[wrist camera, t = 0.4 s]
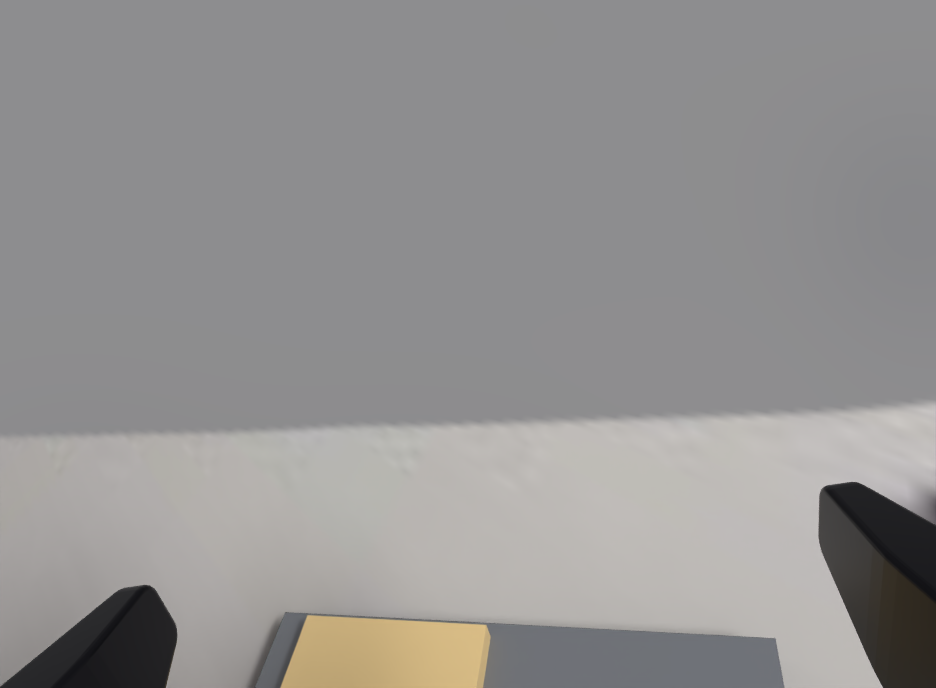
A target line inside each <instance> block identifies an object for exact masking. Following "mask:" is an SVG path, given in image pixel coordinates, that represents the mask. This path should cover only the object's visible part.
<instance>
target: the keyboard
mask: <svg viewBox="0 0 936 688" xmlns="http://www.w3.org/2000/svg"><path fill="white" fill-rule="evenodd" d="M255 688H784V683H783V678H782V672H781V667H780V661H779V656H778V650H777V645H776V639H775V638H759V637H740V636H722V635H703V634H684V633H665V632H646V631H628V630H609V629H590V628H571V627H552V626H534V625H515V624H496V623H477V622H458V621H440V620H421V619H402V618H383V617H364V616H346V615H327V614H308V613H289V612H285V614H284V617H283V619H282V622H281V624H280V627H279V629H278V632H277V634H276V637H275V639H274V642H273V644H272V646H271V649H270V651H269V654H268V656H267V659H266V661H265V664H264V666H263V669H262V671H261V674H260V676H259V679H258V681H257V684H256V686H255Z"/></svg>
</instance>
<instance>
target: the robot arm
mask: <svg viewBox="0 0 936 688" xmlns="http://www.w3.org/2000/svg"><path fill="white" fill-rule="evenodd" d="M819 543H820V547H821V550H822V553H823V556H824V558H825V561H826V563H827V565H828V568H829V570H830V572H831V574H832V577H833V579H834V581H835V584H836V586H837V588H838V590H839V593H840V595H841V597H842V600H843V602H844V604H845V606H846V609H847V611H848V613H849V616H850V618H851V620H852V622H853V625H854V627H855V629H856V632H857V634H858V636H859V638H860V641H861V643H862V645H863V648H864V650H865V652H866V654H867V656H868V659H869V661H870V663H871V665H872V667H873V669H874V672H875V673H876V675H877V677H878V679H879V681H880V683H881V685H882V686H883V688H936V525H935V524H933V523H931V522H929V521H928V520H926V519H924V518H922V517H920V516H919V515H917V514H915V513H913V512H911V511H910V510H908V509H906V508H904V507H902V506H901V505H899V504H897V503H895V502H893V501H892V500H890V499H888V498H886V497H884V496H883V495H881V494H879V493H877V492H875V491H874V490H872V489H870V488H868V487H866V486H865V485H863V484H860V483H857V482H848V483H841V484H834V485H827V486H825V487H823V488H822V489H821V492H820V496H819ZM176 643H177V628H176V624H175V622H174V620H173V618H172V617H171V615H170V613H169V612H168V610H167V608H166V607H165V605H164V603H163V601H162V600H161V598H160V596H159V595H158V593H157V591H156V590H155V589H154V588H153V587H151V586H149V585H141V586H134V587H127V588H123V589H120V590H118V591H117V592H115V593H114V594H113V595H112V596H110V597H109V598H108V599H107V600H106V601H104V602H103V603H102V604H101V605H99V606H98V607H97V608H96V609H95V610H93V611H92V612H91V613H90V614H88V615H87V616H86V617H85V618H84V619H82V620H81V621H80V622H79V623H77V624H76V625H75V626H74V627H73V628H71V629H70V630H69V631H68V632H66V633H65V634H64V635H63V636H62V637H60V638H59V639H58V640H57V641H55V642H54V643H53V644H52V645H51V646H49V647H48V648H47V649H46V650H44V651H43V652H42V653H41V654H40V655H38V656H37V657H36V658H35V659H33V660H32V661H31V662H30V663H29V664H27V665H26V666H25V667H24V668H22V669H21V670H20V671H19V672H18V673H16V674H15V675H14V676H13V677H11V678H10V679H9V680H8V681H7V682H5V683H4V684H3V685H2V686H0V688H166V684H167V680H168V676H169V672H170V668H171V664H172V660H173V655H174V651H175V647H176Z"/></svg>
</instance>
